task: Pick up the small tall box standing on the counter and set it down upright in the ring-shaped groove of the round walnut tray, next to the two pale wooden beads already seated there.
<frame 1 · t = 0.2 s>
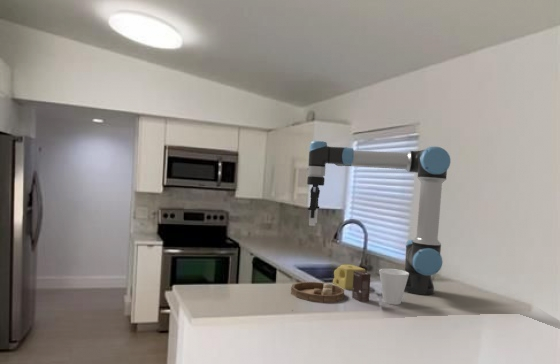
hand: (312, 224, 189), 28 cm above the countertop, tool pointing down, fingers open, 13 cm apart
box: (360, 303, 169), on the countertop
cup: (391, 302, 174), on the countertop
bead b: (327, 293, 176), point 1 cm above the countertop, touching walnut tray
bead a: (326, 297, 168), point 1 cm above the countertop, touching walnut tray
walnut tray: (317, 297, 173), on the countertop
cheese: (348, 289, 191), on the countertop
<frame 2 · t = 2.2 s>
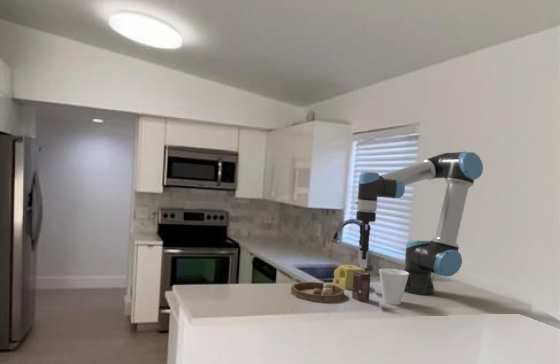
hand: (362, 264, 169), 15 cm above the countertop, tool pointing down, fingers open, 13 cm apart
nothing on the countertop moved.
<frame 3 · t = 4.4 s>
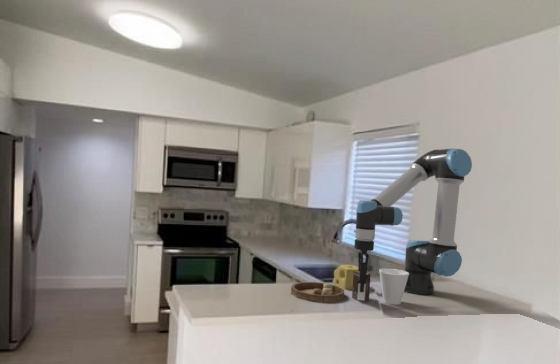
hand: (360, 297, 169), 2 cm above the countertop, tool pointing down, fingers closed on box, 7 cm apart
box: (360, 303, 169), on the countertop, touching gripper
everything else where it was.
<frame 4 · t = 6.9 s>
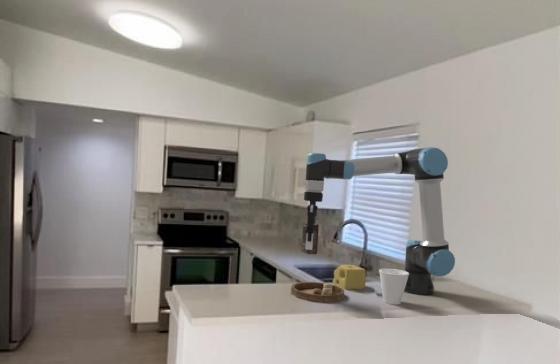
hand: (309, 248, 173), 20 cm above the countertop, tool pointing down, fingers closed on box, 7 cm apart
box: (308, 253, 173), point 17 cm above the countertop, touching gripper
everything else where it was.
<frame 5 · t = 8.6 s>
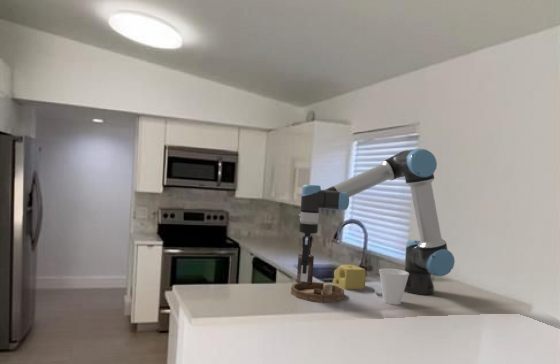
hand: (304, 279, 173), 7 cm above the countertop, tool pointing down, fingers closed on box, 7 cm apart
box: (304, 284, 173), point 4 cm above the countertop, touching gripper
everything else where it was.
when the fingers open (5 cm above the countertop, at t = 9.8 s): box drops 1 cm, resting on walnut tray.
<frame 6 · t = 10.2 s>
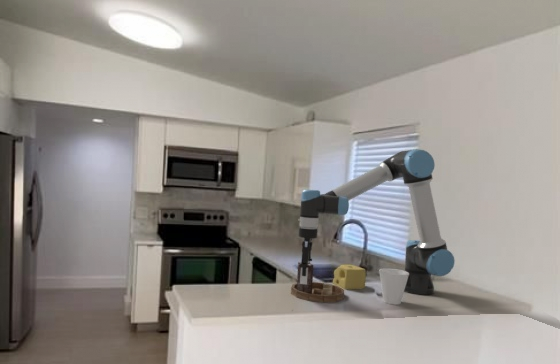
hand: (304, 280, 173), 6 cm above the countertop, tool pointing down, fingers open, 13 cm apart
box: (303, 293, 173), point 1 cm above the countertop, touching walnut tray
everything else where it was.
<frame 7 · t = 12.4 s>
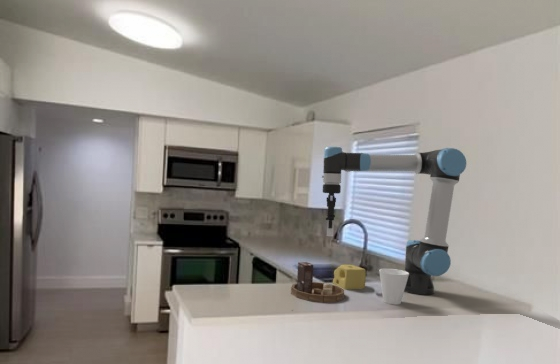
hand: (329, 234, 180), 25 cm above the countertop, tool pointing down, fingers open, 13 cm apart
nothing on the countertop moved.
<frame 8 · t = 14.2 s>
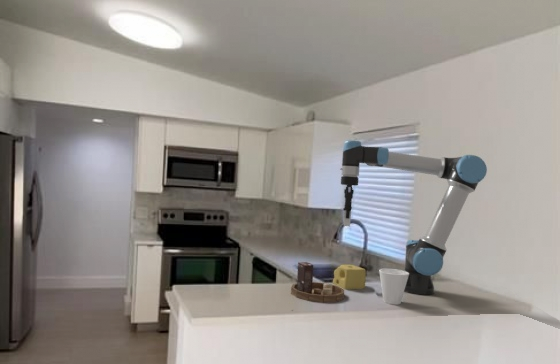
hand: (346, 224, 187), 29 cm above the countertop, tool pointing down, fingers open, 13 cm apart
nothing on the countertop moved.
at the end: box inside the target area on the walnut tray (0.3 cm from its centre), point 1.0 cm above the walnut tray's base; box tilted 0°; the gripper is holding nothing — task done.
